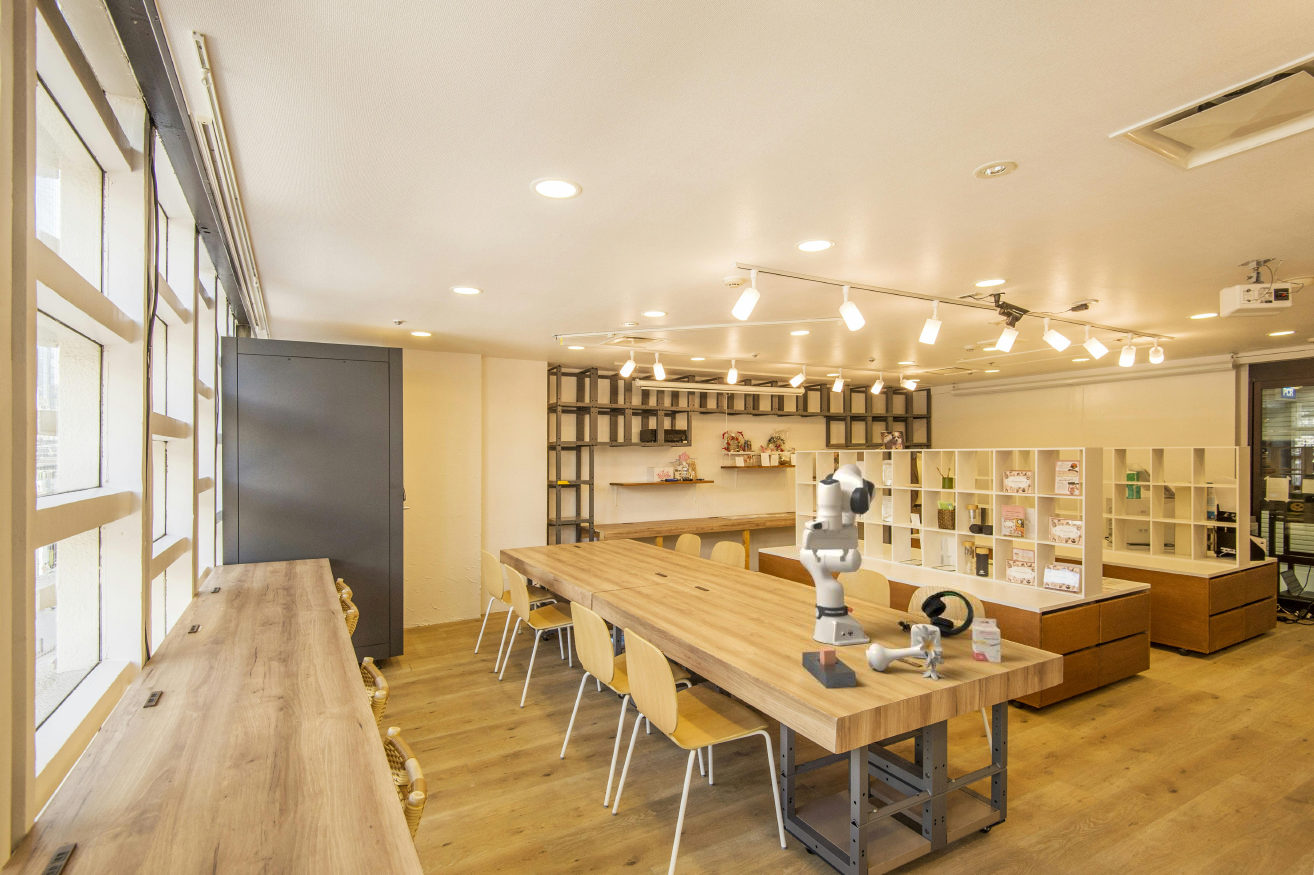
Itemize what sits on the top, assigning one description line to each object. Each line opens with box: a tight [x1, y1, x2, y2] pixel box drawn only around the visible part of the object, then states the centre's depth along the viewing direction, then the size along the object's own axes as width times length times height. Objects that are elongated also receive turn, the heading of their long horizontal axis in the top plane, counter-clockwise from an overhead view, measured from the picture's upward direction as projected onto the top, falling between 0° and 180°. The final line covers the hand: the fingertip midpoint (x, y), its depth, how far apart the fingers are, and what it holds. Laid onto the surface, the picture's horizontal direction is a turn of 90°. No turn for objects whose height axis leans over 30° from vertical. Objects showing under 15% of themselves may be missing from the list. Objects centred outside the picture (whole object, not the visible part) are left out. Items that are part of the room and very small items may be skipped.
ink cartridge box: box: [971, 617, 1002, 663], centre depth 228 cm, size 9×5×15 cm, turn 76°
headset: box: [898, 590, 975, 637], centre depth 261 cm, size 18×14×29 cm
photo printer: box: [910, 623, 942, 660], centre depth 231 cm, size 10×4×12 cm, turn 73°
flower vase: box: [865, 625, 946, 681], centre depth 215 cm, size 13×18×25 cm
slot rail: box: [801, 651, 857, 689], centre depth 212 cm, size 10×22×5 cm, turn 7°
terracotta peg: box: [819, 646, 837, 665], centre depth 212 cm, size 4×4×8 cm
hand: (830, 561), depth 225 cm, fingers open, 8 cm apart
